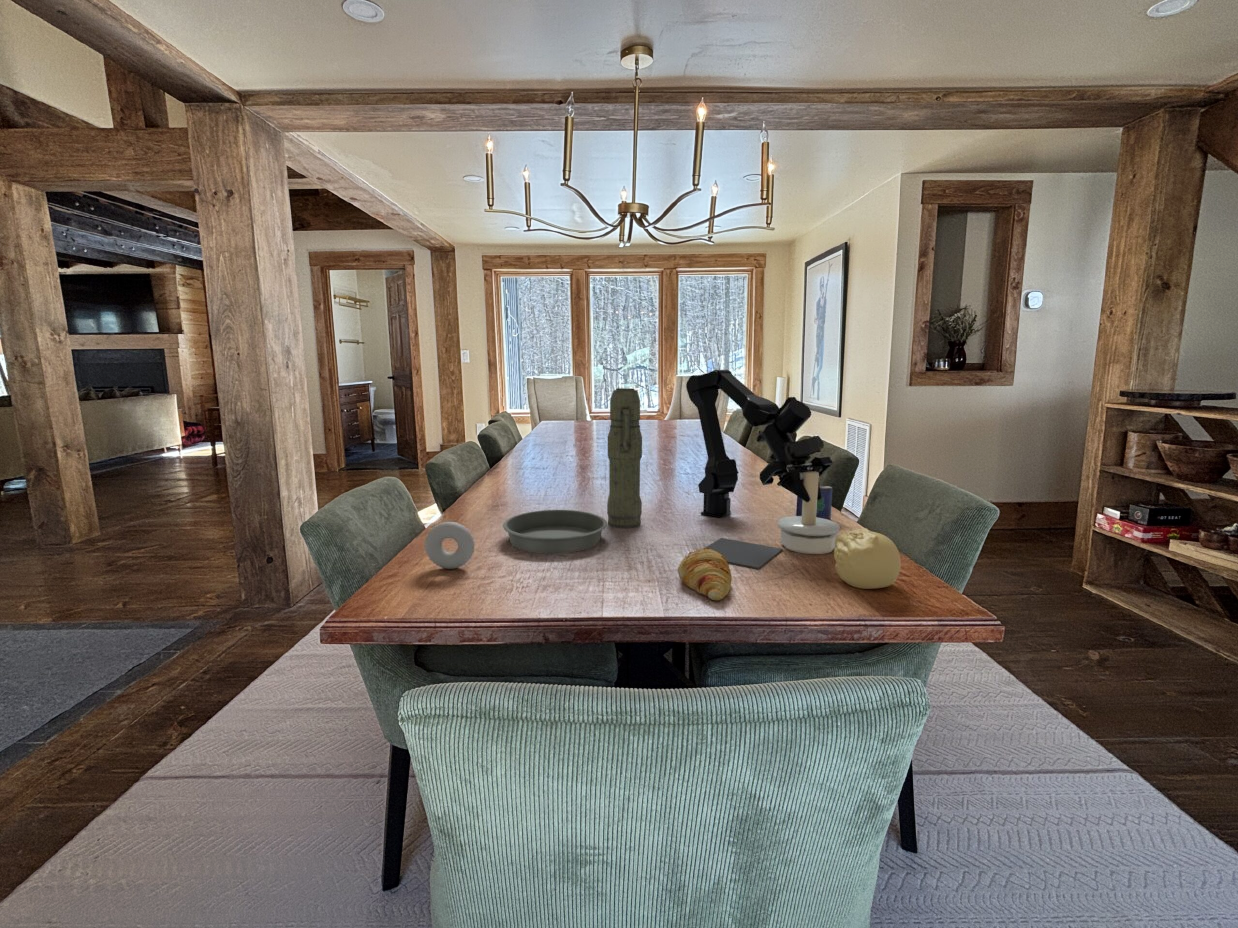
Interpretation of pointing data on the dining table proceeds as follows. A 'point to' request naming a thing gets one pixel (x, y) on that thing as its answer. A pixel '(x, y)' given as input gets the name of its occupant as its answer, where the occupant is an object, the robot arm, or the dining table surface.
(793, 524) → the lid
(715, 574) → the croissant
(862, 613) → the dining table surface
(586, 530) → the cake pan
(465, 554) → the donut
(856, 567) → the sculpture
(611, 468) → the thermos
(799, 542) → the bowl
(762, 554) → the mat
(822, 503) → the flask
